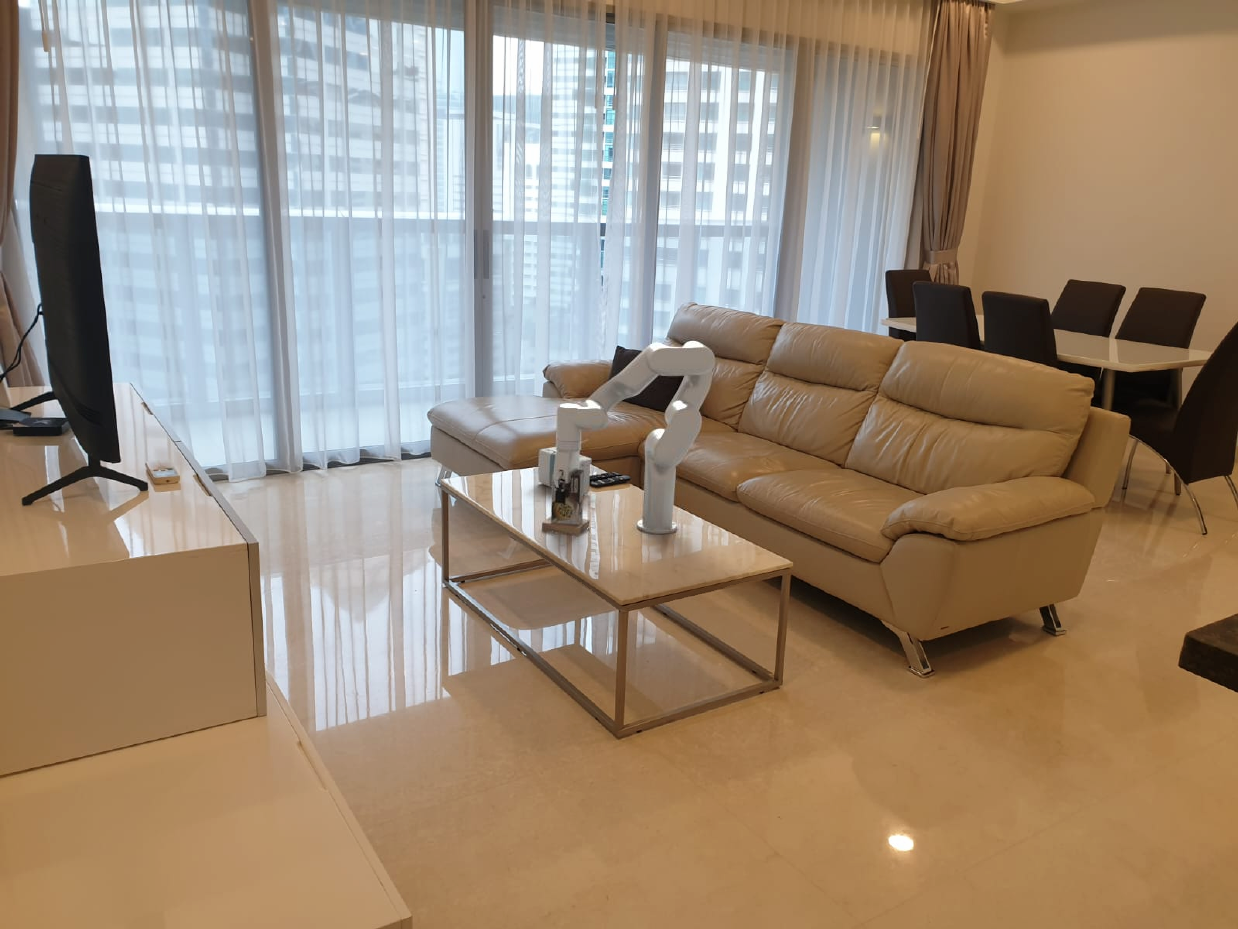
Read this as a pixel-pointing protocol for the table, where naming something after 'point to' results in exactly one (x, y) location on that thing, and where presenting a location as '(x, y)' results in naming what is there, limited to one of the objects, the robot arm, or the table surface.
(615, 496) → the table surface
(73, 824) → the table surface
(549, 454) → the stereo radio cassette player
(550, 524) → the flat wooden block
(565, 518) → the coffee box
